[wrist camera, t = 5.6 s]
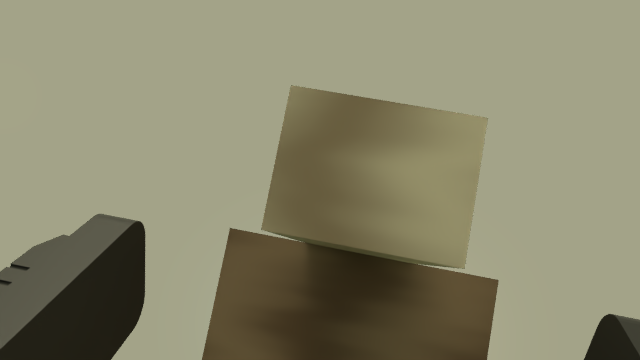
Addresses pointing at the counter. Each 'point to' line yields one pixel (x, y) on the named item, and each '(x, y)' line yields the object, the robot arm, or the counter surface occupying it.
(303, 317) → the walnut step stand
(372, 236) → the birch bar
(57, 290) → the robot arm
